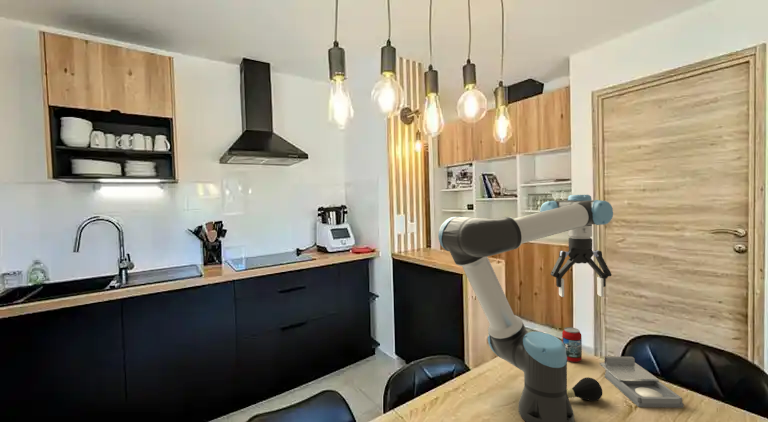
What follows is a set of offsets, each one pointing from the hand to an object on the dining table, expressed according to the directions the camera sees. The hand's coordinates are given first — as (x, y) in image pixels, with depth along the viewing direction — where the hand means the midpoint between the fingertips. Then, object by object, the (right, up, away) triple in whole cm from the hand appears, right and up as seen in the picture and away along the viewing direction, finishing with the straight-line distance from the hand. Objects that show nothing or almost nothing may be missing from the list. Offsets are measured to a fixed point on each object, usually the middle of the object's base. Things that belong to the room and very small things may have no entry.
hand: (580, 295), depth 128 cm
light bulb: (-14, -28, -15) cm, 35 cm away
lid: (+14, -26, -5) cm, 29 cm away
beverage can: (+4, -29, +13) cm, 31 cm away
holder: (+13, -29, -11) cm, 34 cm away
